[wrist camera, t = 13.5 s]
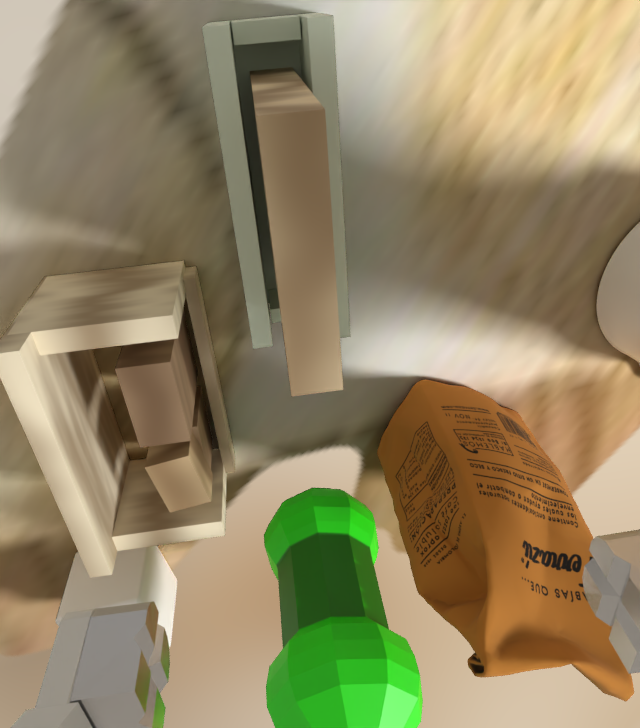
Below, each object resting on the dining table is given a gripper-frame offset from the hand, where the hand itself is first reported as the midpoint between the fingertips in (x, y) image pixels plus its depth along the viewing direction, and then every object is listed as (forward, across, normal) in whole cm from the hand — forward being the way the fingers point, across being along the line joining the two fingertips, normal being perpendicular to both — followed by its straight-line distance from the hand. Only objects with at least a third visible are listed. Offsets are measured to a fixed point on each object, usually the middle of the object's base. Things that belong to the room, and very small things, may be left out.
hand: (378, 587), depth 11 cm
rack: (+31, +11, +14) cm, 36 cm away
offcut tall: (+31, +10, +11) cm, 34 cm away
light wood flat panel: (+30, 0, 0) cm, 30 cm away
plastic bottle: (+31, 0, +30) cm, 43 cm away
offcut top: (+26, +9, +18) cm, 33 cm away
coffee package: (+31, -12, +23) cm, 40 cm away
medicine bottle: (+31, +18, +34) cm, 49 cm away
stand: (+31, 0, 0) cm, 31 cm away
